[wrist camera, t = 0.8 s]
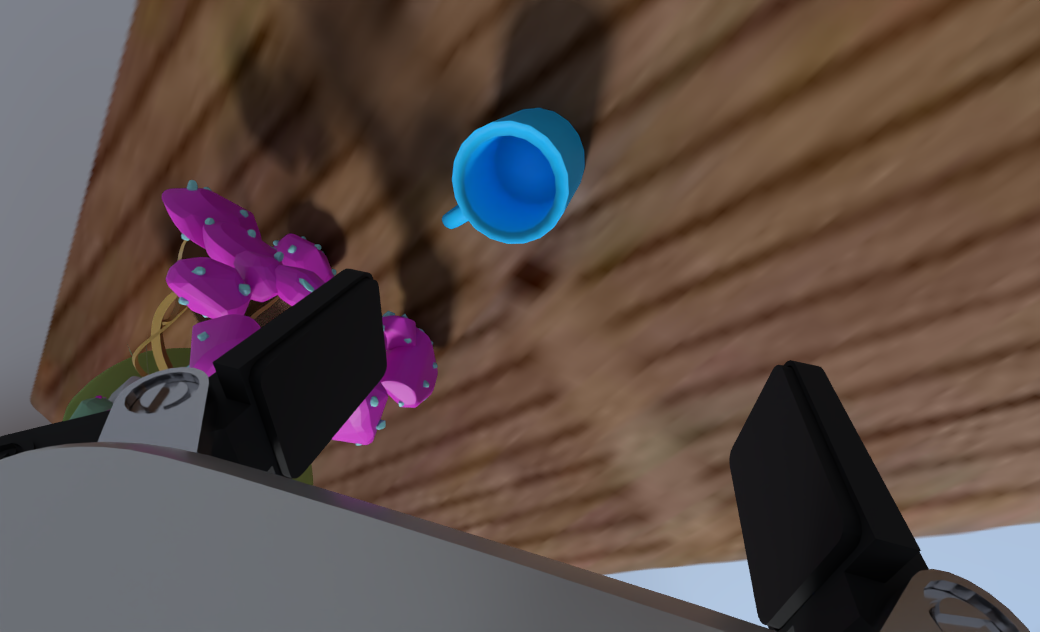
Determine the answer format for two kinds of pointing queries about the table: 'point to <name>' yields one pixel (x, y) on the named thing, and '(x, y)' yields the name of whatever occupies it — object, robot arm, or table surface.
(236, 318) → the tree
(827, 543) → the robot arm
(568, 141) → the mug
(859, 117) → the table surface
